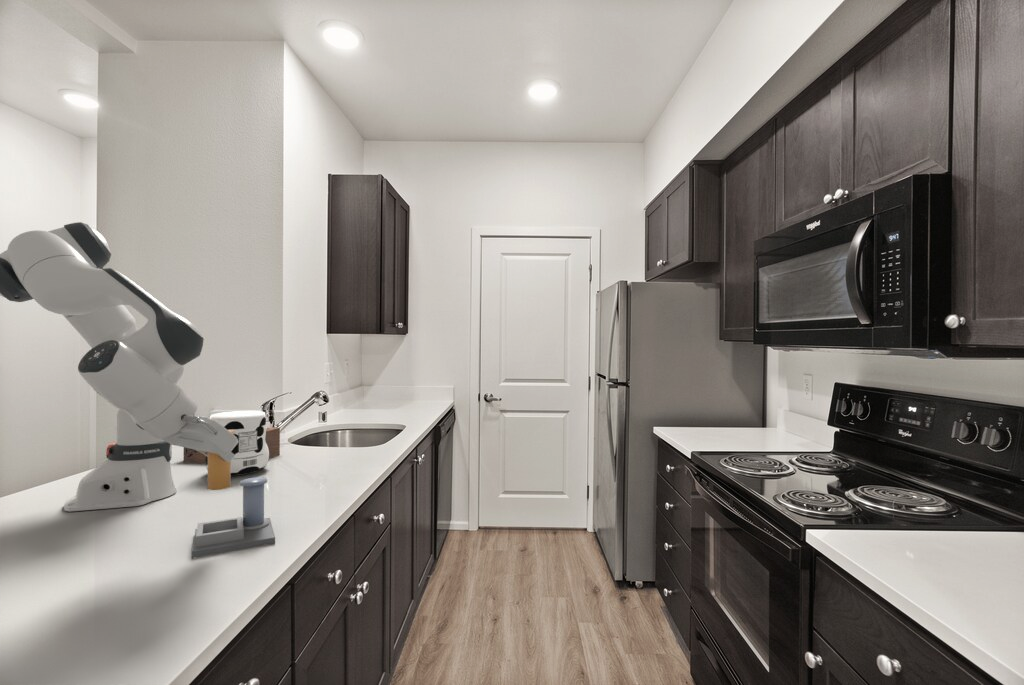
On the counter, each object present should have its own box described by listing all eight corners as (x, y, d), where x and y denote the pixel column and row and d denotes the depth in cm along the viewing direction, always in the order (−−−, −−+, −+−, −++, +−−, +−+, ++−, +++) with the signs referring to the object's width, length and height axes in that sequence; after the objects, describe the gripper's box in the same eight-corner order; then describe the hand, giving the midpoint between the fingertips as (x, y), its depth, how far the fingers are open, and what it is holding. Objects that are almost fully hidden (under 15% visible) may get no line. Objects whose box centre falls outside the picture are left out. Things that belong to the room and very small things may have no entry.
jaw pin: (203, 492, 97) (203, 435, 97) (204, 485, 102) (204, 431, 102) (234, 488, 100) (234, 433, 100) (233, 482, 105) (234, 429, 105)
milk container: (227, 465, 165) (227, 410, 165) (279, 465, 164) (279, 410, 164) (191, 479, 148) (192, 418, 148) (250, 480, 147) (250, 418, 147)
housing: (192, 557, 94) (192, 500, 94) (195, 534, 105) (195, 483, 105) (275, 543, 101) (275, 489, 101) (269, 523, 112) (270, 474, 112)
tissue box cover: (279, 455, 181) (279, 427, 181) (253, 465, 166) (253, 434, 166) (214, 452, 184) (214, 425, 184) (183, 462, 170) (183, 432, 170)
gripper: (213, 404, 90) (264, 449, 98) (155, 397, 100) (206, 439, 109) (186, 433, 86) (241, 477, 94) (129, 423, 96) (183, 464, 105)
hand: (222, 457), depth 102 cm, fingers closed on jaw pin, 4 cm apart
